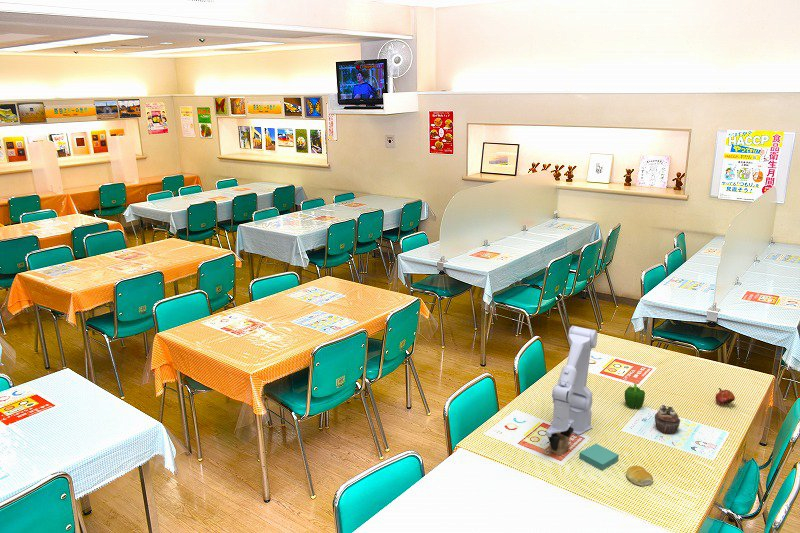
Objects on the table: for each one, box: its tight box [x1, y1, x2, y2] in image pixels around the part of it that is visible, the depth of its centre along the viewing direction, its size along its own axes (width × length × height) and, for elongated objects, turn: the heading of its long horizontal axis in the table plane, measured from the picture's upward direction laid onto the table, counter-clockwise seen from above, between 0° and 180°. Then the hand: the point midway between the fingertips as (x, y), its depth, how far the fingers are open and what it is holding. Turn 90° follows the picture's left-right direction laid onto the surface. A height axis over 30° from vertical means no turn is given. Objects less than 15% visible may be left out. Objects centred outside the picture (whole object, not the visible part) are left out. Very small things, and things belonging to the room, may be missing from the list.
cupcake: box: [654, 404, 681, 435], centre depth 248 cm, size 10×10×10 cm
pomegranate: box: [714, 387, 736, 410], centre depth 268 cm, size 7×7×10 cm
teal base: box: [578, 443, 620, 471], centre depth 229 cm, size 10×10×3 cm
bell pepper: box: [624, 382, 646, 409], centre depth 267 cm, size 8×8×10 cm
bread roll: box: [625, 465, 654, 487], centre depth 217 cm, size 8×9×4 cm
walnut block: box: [548, 432, 570, 457], centre depth 234 cm, size 5×5×6 cm
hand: (558, 447), depth 234 cm, fingers open, 5 cm apart
